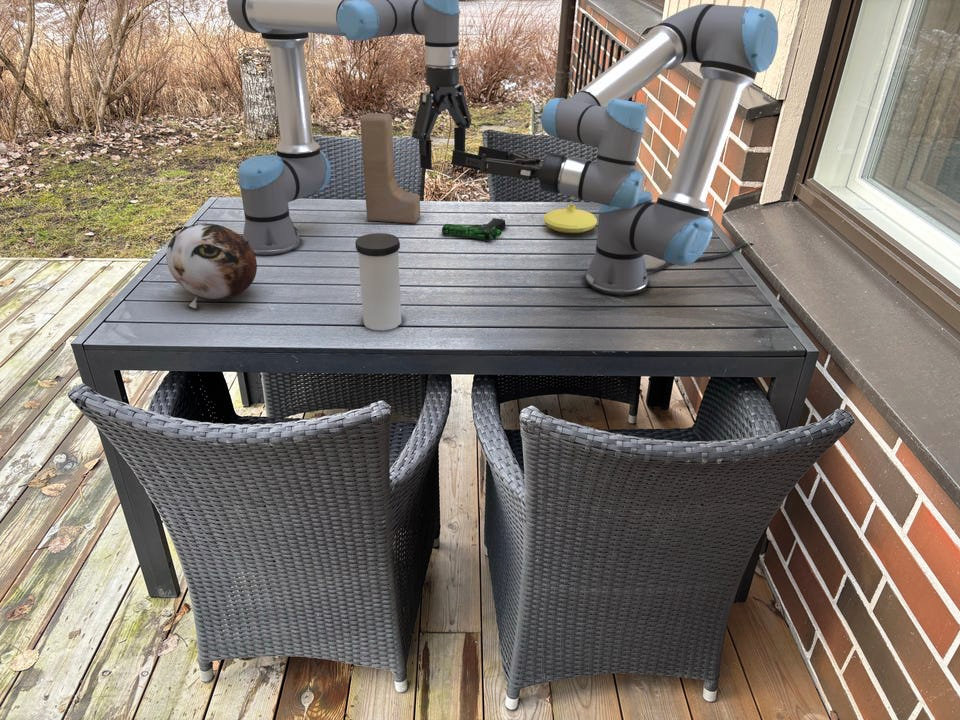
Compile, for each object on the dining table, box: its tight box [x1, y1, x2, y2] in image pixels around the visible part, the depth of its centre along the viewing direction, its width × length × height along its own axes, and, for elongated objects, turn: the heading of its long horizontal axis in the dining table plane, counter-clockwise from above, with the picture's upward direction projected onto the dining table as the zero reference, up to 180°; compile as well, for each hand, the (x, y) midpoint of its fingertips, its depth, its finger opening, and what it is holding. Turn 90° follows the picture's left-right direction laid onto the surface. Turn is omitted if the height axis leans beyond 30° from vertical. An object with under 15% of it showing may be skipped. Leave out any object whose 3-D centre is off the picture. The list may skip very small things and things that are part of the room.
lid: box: [354, 232, 401, 256], centre depth 150 cm, size 9×9×2 cm
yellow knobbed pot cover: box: [543, 203, 598, 234], centre depth 209 cm, size 16×16×7 cm
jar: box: [357, 250, 402, 331], centre depth 155 cm, size 8×8×19 cm
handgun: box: [441, 217, 506, 242], centre depth 207 cm, size 16×3×15 cm
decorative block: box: [359, 112, 421, 224], centre depth 209 cm, size 8×15×30 cm, turn 82°
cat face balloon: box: [165, 222, 258, 309], centre depth 165 cm, size 22×18×20 cm
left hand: (443, 161), depth 169 cm, fingers open, 13 cm apart
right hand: (466, 154), depth 148 cm, fingers open, 13 cm apart
